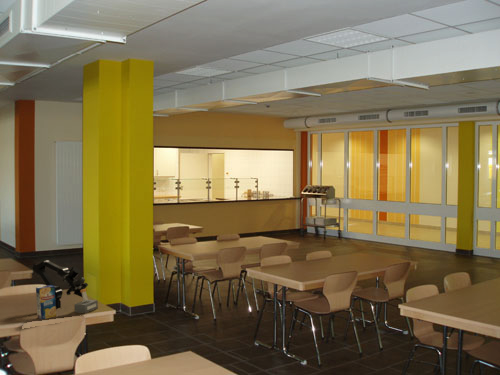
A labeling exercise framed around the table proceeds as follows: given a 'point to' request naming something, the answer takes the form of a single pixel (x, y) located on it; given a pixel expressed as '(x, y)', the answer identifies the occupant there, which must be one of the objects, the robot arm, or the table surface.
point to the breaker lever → (84, 294)
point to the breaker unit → (86, 306)
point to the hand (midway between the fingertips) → (83, 297)
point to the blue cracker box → (46, 302)
